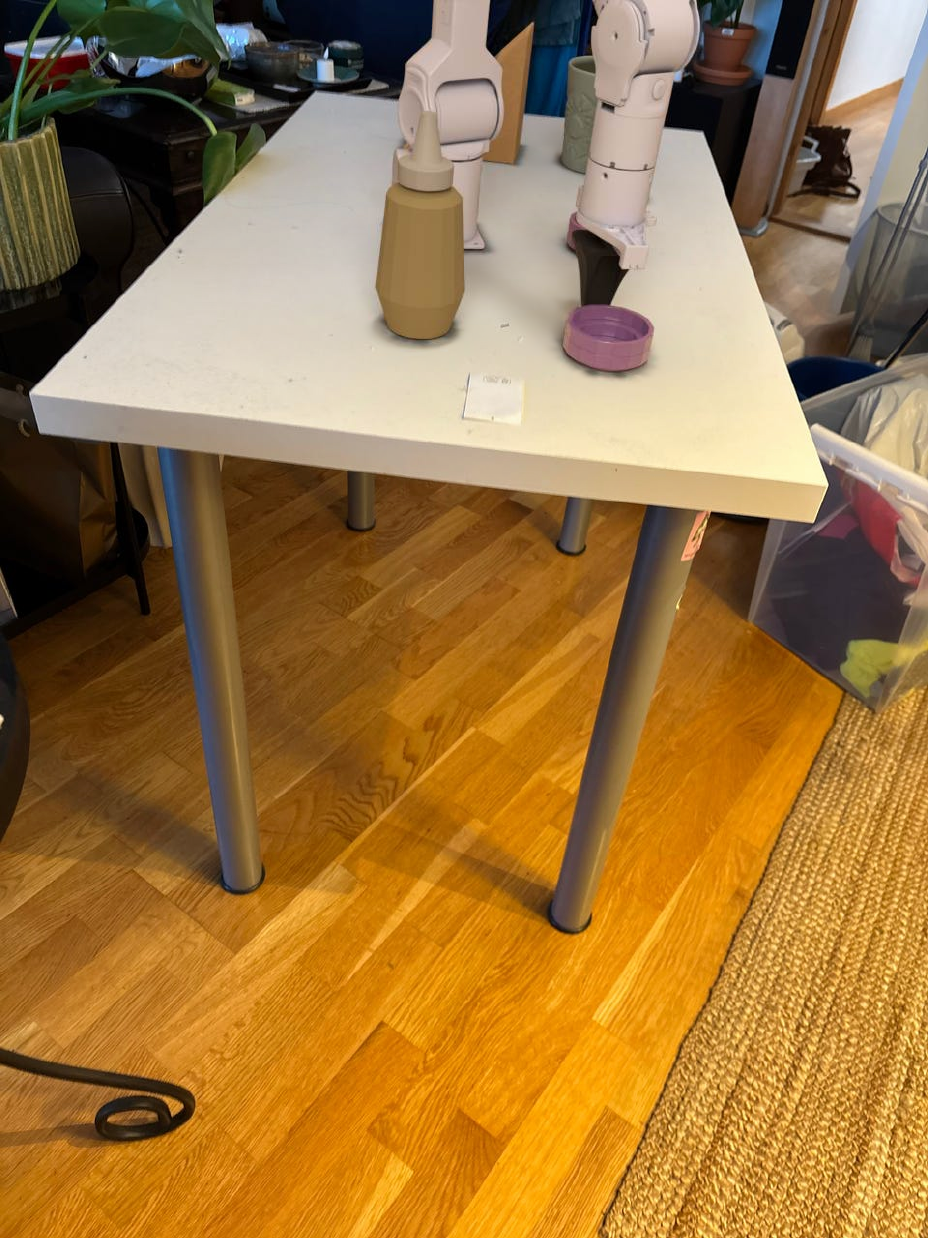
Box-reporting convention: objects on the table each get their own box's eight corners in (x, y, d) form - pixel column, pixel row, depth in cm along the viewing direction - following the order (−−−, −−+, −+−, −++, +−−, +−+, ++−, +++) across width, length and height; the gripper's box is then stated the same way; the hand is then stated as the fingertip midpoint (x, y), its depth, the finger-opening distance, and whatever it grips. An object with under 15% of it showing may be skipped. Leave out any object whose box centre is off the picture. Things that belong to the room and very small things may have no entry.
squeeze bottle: (414, 299, 89) (423, 93, 76) (479, 328, 85) (499, 116, 73) (356, 324, 84) (356, 108, 72) (422, 355, 80) (433, 134, 68)
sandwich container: (413, 131, 129) (418, 6, 119) (520, 145, 128) (534, 20, 118) (401, 149, 123) (405, 18, 112) (513, 164, 122) (528, 34, 112)
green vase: (627, 158, 128) (646, 60, 120) (629, 181, 120) (649, 79, 112) (556, 149, 128) (569, 51, 120) (553, 172, 121) (568, 69, 113)
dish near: (575, 375, 80) (581, 343, 78) (553, 334, 86) (558, 304, 84) (658, 374, 82) (666, 343, 80) (631, 334, 87) (638, 304, 85)
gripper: (697, 191, 72) (658, 349, 82) (639, 134, 83) (610, 281, 92) (613, 189, 71) (583, 350, 80) (565, 132, 81) (543, 281, 90)
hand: (593, 313), depth 86 cm, fingers closed
